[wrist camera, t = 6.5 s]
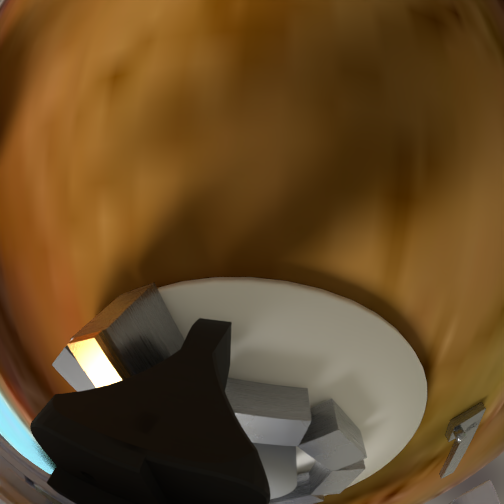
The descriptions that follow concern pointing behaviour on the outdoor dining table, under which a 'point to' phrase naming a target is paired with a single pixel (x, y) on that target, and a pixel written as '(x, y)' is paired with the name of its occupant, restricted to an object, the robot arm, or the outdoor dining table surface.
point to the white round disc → (304, 361)
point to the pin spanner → (461, 436)
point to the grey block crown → (237, 391)
